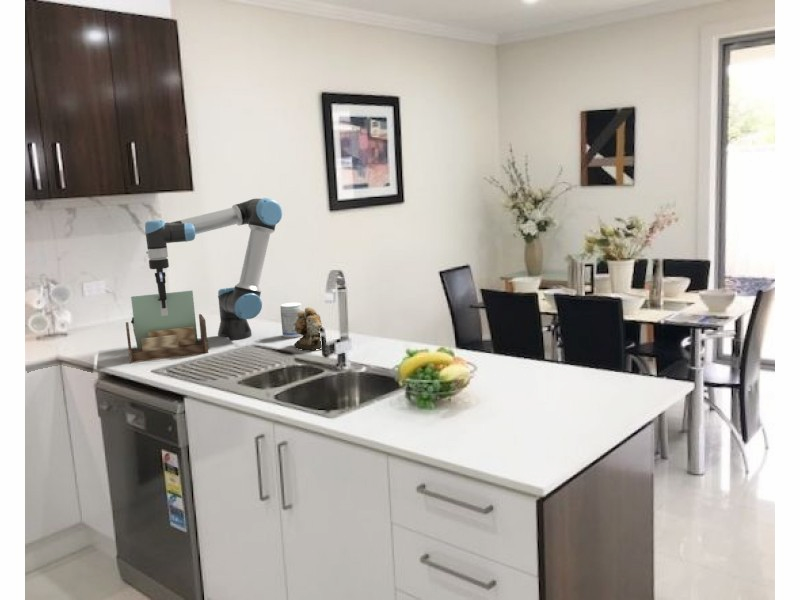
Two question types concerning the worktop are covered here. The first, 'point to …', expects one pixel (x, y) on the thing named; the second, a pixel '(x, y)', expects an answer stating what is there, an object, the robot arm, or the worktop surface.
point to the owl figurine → (308, 329)
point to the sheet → (150, 314)
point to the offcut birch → (159, 343)
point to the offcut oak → (183, 334)
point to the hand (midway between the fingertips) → (164, 315)
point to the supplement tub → (290, 319)
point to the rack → (180, 351)
